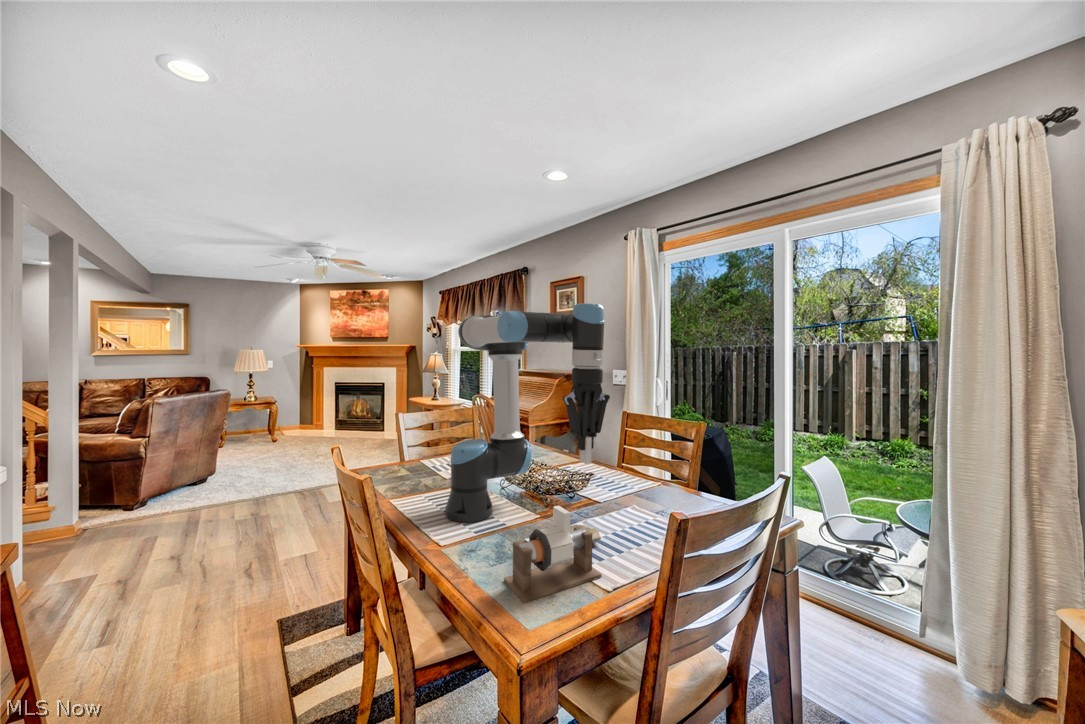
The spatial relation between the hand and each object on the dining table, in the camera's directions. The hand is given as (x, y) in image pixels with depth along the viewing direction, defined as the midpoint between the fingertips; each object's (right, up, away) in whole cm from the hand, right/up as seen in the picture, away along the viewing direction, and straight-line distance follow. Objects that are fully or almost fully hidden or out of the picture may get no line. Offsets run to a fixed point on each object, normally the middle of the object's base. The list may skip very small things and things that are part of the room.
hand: (585, 462), depth 109 cm
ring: (-11, -23, -7) cm, 27 cm away
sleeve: (-8, -23, -5) cm, 25 cm away
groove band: (-12, -21, -7) cm, 25 cm away
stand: (-8, -27, -4) cm, 28 cm away
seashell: (0, -26, +15) cm, 30 cm away
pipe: (-8, -21, -5) cm, 23 cm away
